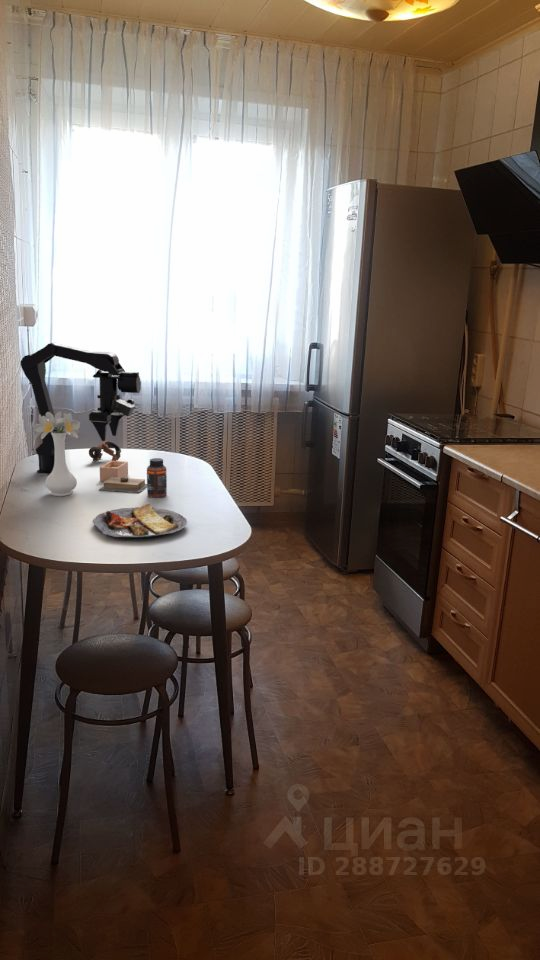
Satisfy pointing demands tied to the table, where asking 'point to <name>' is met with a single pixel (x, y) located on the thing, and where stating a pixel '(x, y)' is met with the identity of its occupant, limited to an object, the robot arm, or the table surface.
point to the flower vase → (59, 451)
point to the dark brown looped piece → (106, 449)
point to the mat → (124, 490)
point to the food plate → (139, 521)
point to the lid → (124, 483)
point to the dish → (113, 470)
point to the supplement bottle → (156, 478)
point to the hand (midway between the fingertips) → (109, 438)
